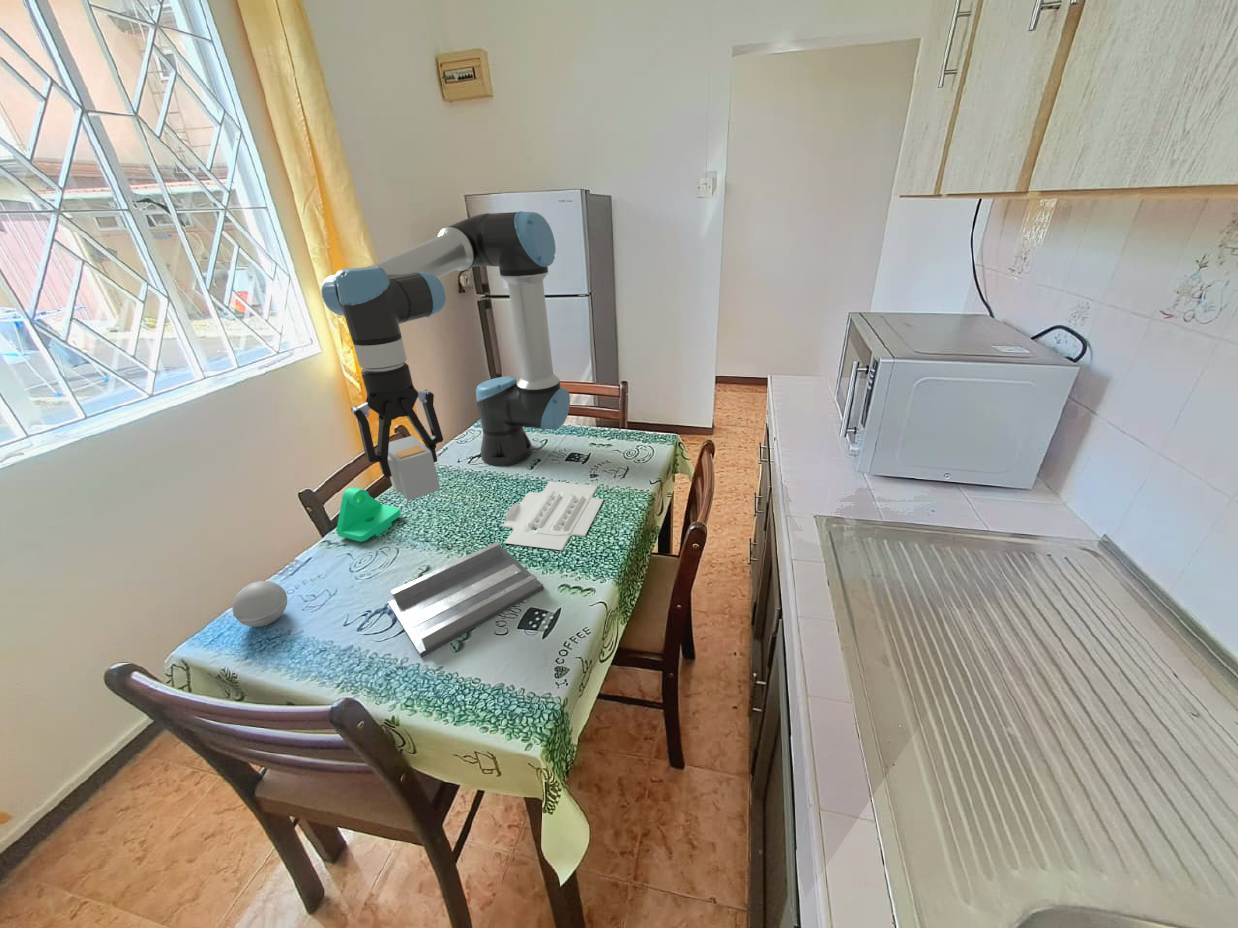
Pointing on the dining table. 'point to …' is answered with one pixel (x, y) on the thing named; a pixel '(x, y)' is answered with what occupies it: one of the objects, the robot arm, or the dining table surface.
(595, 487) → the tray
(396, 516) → the camera mount
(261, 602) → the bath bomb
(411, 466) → the module
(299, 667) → the dining table surface
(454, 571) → the rail
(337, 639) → the dining table surface
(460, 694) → the dining table surface
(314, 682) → the dining table surface
